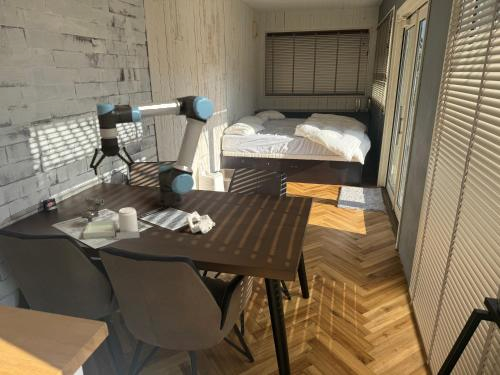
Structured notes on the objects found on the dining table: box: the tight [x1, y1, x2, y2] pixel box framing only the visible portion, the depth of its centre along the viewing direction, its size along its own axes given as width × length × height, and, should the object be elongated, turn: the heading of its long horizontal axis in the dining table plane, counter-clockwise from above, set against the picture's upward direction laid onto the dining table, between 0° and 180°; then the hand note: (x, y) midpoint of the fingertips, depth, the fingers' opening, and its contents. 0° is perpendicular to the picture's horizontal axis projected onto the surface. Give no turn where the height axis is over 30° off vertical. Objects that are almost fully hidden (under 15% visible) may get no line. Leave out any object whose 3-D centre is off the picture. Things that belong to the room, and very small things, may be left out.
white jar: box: [117, 206, 139, 232], centre depth 165 cm, size 8×8×12 cm
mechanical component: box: [85, 196, 105, 218], centre depth 185 cm, size 3×10×10 cm, turn 79°
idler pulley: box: [80, 209, 97, 224], centre depth 174 cm, size 7×7×7 cm
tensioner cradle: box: [115, 221, 142, 240], centre depth 166 cm, size 10×12×3 cm
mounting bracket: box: [186, 211, 216, 234], centre depth 171 cm, size 12×6×11 cm, turn 158°
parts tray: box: [82, 219, 119, 240], centre depth 167 cm, size 14×14×3 cm
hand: (114, 180), depth 170 cm, fingers open, 13 cm apart
